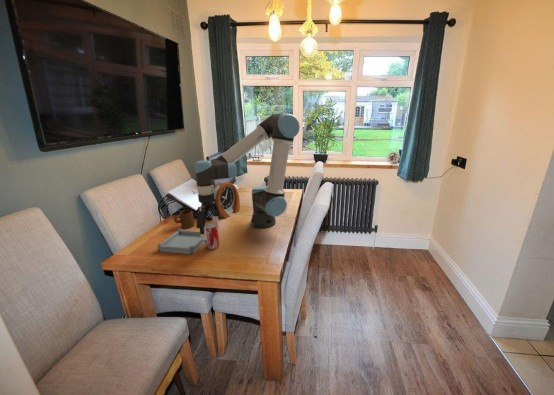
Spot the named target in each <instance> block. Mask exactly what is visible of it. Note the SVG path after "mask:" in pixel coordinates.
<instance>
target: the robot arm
mask: <svg viewBox="0 0 554 395" xmlns="http://www.w3.org/2000/svg"><path fill="white" fill-rule="evenodd" d="M300 127H301V126H300V122H299V119H298V118H297V117H296V116H295V115H294V114H292V113H291V114H290V113H286V112H285V113H274V114H272V115H271V114H270V116H268V117H266V118H265V119H264V120H263V121H261V122H260V123H258V124H257V125H256V128H255V129H254V130H252V131H251V132H250V133H249V134H247V135H246V136H245V137H243V138H242V139H240V140H238V142H236V143H235V144H234V145H232V146H231V147H229V148H228V149H227V150H225V151H224V152H222V154H220V155H219V156H217V157H216V158H212V159H210V160H206V159H205V160H198V161H195V163H194V174H195V181H196V182H195V183H196V189H197V198H198V202H199V203H201V206H198V207H197V217H196V218H197V220H196V229H199V231H200V235H201V240H207V235H206V227H204V226H205V225H206V221H207V217H208V215H209V212H210V213H211V214H212V223H214V224H216V226H217V228H218V229H219V228H220V224H219V216H220V214H218V213H220V211H219V209H218V206H217V204H216V200H215V198H214V193H213V192H214V188H213V187H214V181H218V180H224V179H225V180H227V179H233V178H235V177H237V174H238V169H237V164H236V162H237V161H239V160H240V159H241V158H243V157H244V156H245V155H247V154H248V153H249V152H250V151H252V150H253V149H254V148H256V147H257V146H258V145H260V144H262V143H263V142H264V141H268V140H270V139H271V140H272V142H273V146H272V153H271V160H270V165H269V174H268V178H267V185H261V186H256V187H253V188H252V189H251V199H252V215H251V219H250V224H251V226H252V227H253V228H257V229H266V228H270V227H273V226H275V225H276V223H277V221H276V217H279V216H281V215H283V214H284V213H285V212H286V210H287V206H288V203H287V200H286V199H285V194H286V191H285V190H284V182H285V177H286V172H287V164H288V160H289V159H288V158H289V151H290V147H291V145H292V144H293V143H294V139H295V137H296V136H297V135H298V134H299V132H300V129H301V128H300Z"/></svg>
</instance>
